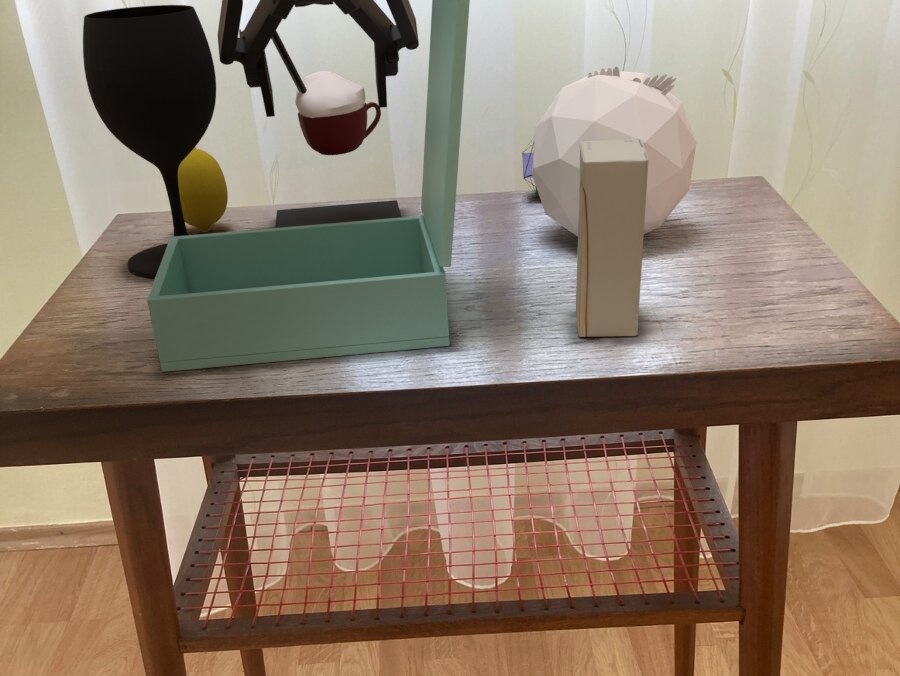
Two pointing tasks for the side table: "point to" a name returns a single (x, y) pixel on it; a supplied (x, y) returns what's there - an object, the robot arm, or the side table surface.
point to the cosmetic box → (610, 236)
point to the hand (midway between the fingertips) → (325, 99)
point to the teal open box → (298, 294)
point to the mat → (337, 214)
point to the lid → (444, 122)
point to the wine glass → (152, 92)
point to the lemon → (202, 190)
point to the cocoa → (329, 108)
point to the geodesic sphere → (606, 118)
